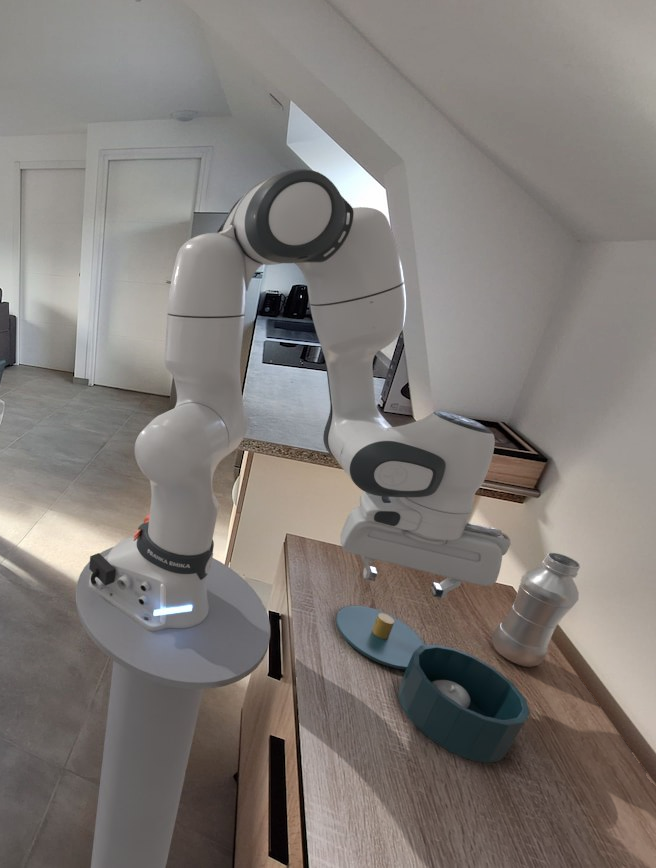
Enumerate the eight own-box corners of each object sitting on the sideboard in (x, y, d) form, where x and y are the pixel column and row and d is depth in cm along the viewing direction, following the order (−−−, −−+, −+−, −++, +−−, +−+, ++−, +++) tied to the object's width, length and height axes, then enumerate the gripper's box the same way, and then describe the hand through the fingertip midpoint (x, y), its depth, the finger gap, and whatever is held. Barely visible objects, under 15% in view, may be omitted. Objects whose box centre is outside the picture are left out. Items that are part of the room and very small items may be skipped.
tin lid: (330, 644, 78) (338, 624, 76) (338, 599, 88) (344, 580, 87) (428, 687, 71) (438, 665, 69) (423, 633, 81) (432, 612, 79)
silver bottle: (531, 650, 78) (583, 555, 71) (545, 679, 73) (603, 580, 66) (482, 634, 81) (528, 541, 74) (493, 661, 76) (543, 564, 69)
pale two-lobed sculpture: (426, 691, 71) (470, 703, 67) (425, 729, 65) (473, 744, 62) (424, 667, 70) (468, 678, 67) (423, 703, 64) (471, 717, 61)
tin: (398, 726, 65) (415, 688, 62) (397, 666, 74) (412, 631, 72) (515, 783, 58) (539, 744, 56) (498, 709, 68) (518, 673, 65)
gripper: (505, 521, 69) (473, 594, 74) (350, 490, 77) (330, 557, 81) (525, 544, 63) (489, 621, 68) (356, 508, 71) (334, 579, 76)
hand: (401, 586), depth 75 cm, fingers open, 8 cm apart
